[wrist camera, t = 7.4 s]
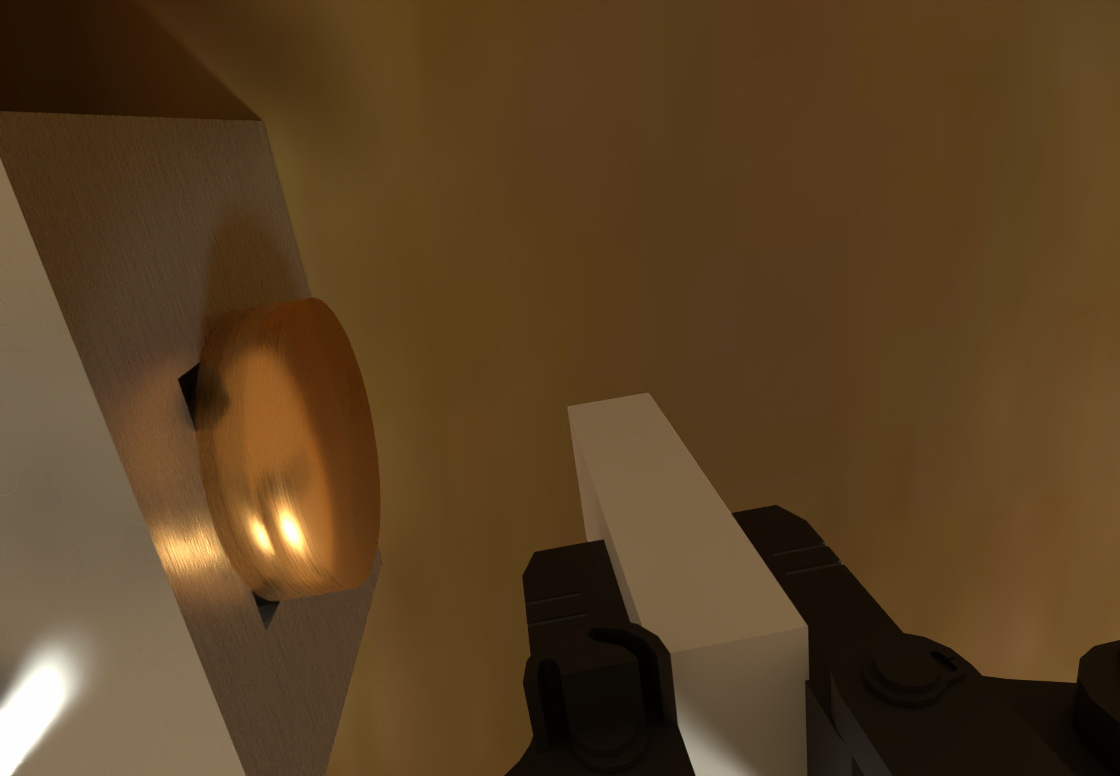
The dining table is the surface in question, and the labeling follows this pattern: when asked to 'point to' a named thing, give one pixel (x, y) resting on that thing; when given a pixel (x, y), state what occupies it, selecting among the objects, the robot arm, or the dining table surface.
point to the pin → (287, 449)
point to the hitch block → (141, 462)
